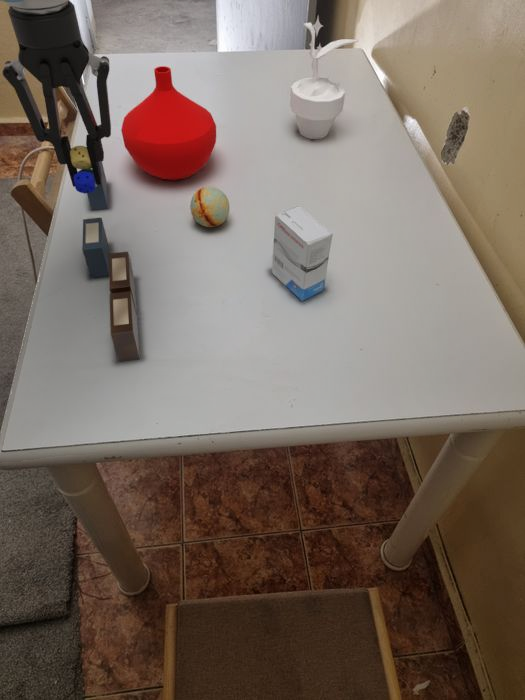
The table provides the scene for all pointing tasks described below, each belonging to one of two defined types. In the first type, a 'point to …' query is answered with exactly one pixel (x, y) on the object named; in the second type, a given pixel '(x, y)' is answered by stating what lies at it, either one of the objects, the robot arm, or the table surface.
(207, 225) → the ball
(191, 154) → the vase
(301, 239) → the ink box
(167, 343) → the table surface
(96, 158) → the robot arm
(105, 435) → the table surface
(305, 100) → the potted plant
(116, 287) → the brown paneled block
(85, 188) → the dice
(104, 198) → the blue block
